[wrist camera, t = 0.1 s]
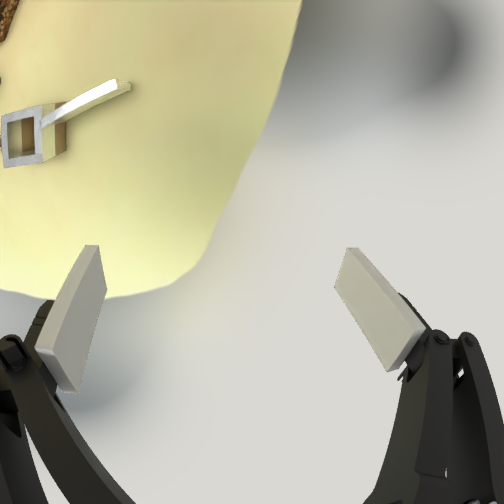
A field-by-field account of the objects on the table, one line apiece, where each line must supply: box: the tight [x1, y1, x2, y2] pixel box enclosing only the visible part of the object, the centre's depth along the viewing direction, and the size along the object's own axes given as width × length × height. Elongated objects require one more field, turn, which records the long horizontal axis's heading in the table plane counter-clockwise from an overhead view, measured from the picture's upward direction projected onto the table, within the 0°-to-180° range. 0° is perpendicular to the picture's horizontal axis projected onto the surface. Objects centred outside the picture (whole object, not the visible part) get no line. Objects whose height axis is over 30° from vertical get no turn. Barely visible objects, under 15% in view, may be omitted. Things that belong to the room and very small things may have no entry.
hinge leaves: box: [0, 79, 132, 168], centre depth 26 cm, size 9×29×8 cm, turn 83°
